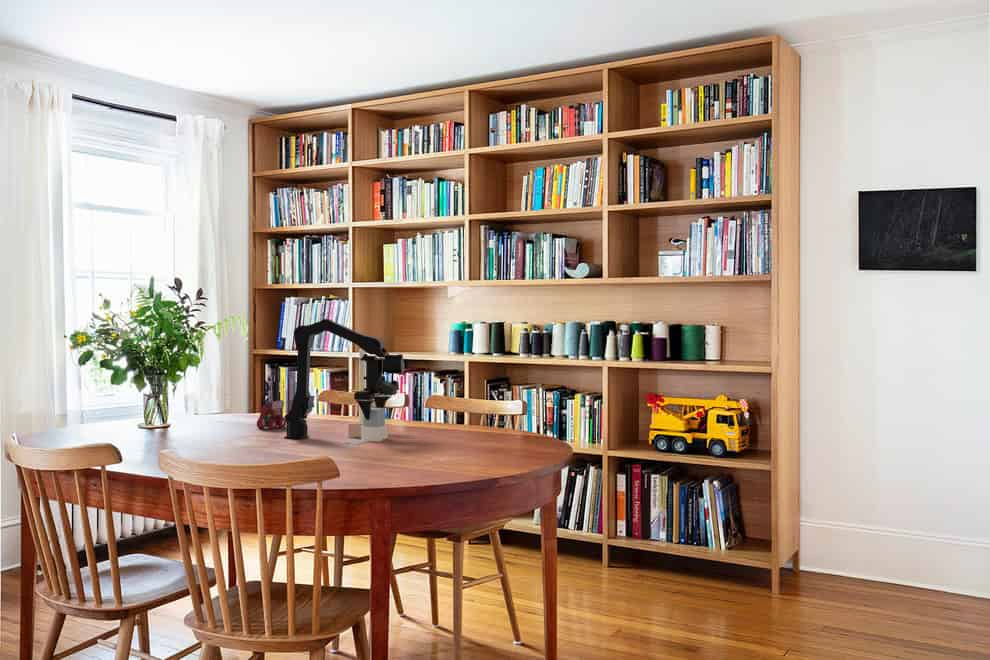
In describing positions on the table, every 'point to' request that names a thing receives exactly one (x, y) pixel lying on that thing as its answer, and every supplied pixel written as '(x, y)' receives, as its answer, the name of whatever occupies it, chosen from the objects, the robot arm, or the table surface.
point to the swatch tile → (355, 441)
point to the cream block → (374, 433)
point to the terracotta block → (354, 429)
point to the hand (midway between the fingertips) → (374, 418)
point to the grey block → (375, 418)
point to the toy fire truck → (272, 415)
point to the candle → (361, 380)
